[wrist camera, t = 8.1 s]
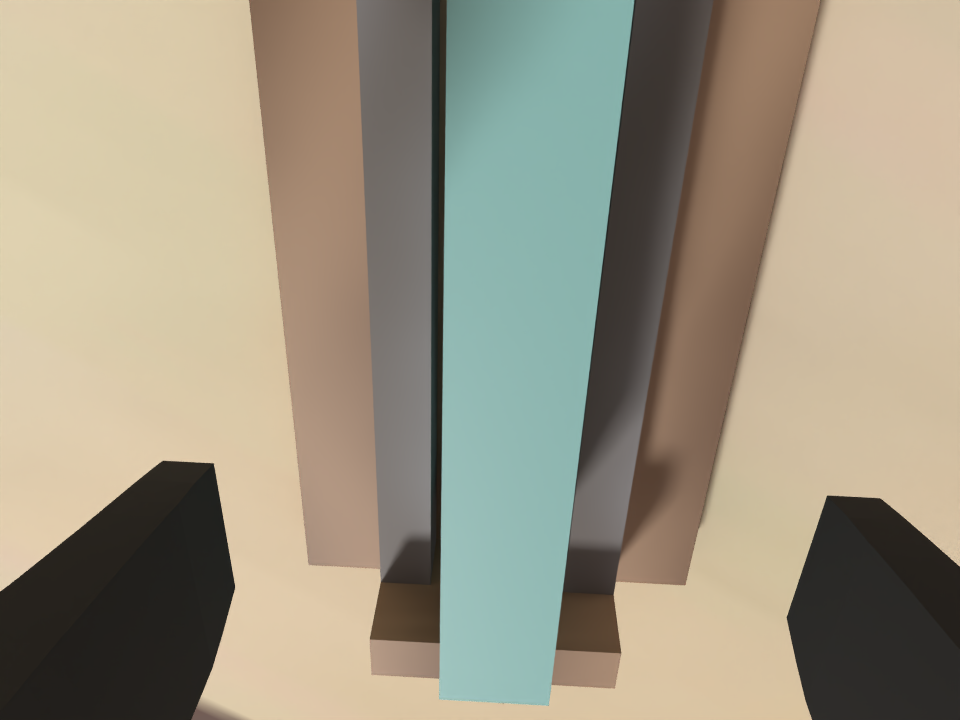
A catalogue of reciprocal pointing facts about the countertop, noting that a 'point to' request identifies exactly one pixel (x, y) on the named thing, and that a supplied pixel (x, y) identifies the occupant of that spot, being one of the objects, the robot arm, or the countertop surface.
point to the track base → (420, 292)
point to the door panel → (519, 320)
